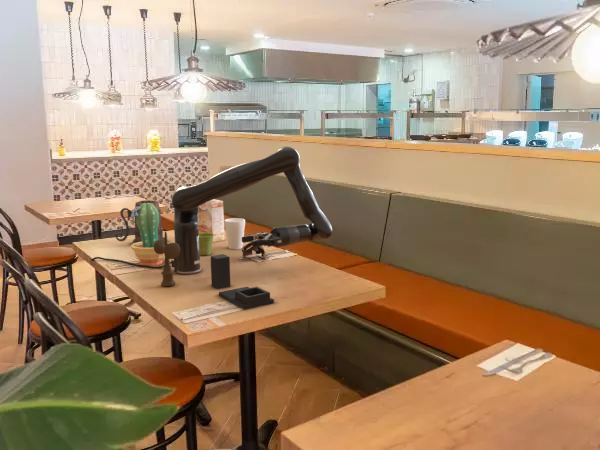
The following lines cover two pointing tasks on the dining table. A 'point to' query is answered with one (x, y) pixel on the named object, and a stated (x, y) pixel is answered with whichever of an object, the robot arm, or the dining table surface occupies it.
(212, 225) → the coffeecake box
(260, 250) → the brown curved piece
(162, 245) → the kendama
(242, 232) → the foam cup
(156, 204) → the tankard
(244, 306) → the base pad
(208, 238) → the plant pot
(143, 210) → the potted cactus
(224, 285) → the post
